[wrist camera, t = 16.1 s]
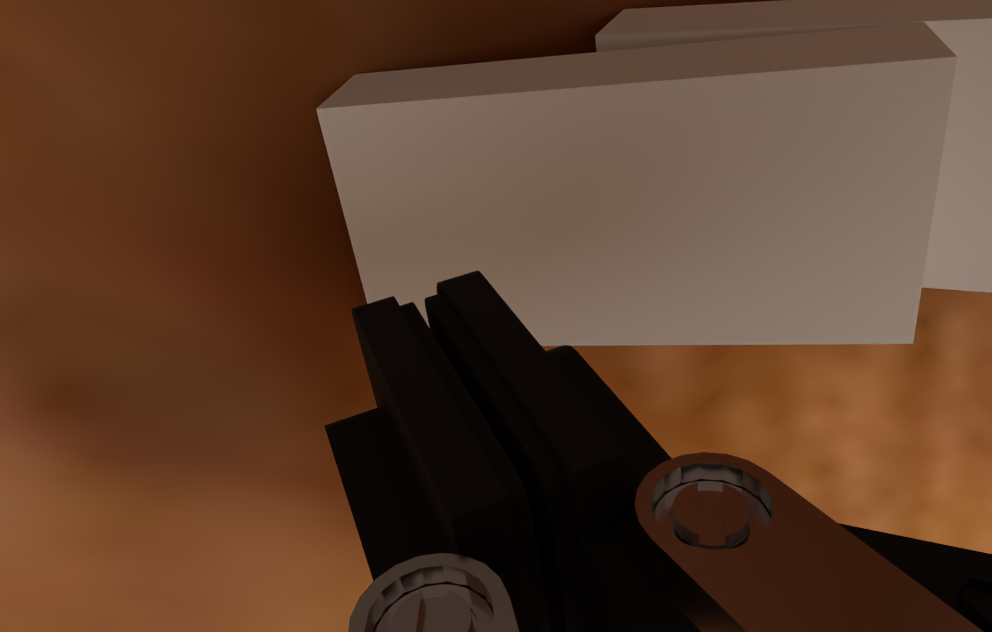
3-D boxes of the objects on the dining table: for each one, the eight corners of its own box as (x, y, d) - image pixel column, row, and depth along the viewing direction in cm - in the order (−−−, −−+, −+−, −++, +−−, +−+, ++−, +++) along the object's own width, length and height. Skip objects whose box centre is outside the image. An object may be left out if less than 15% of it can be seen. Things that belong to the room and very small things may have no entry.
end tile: (354, 74, 16) (924, 21, 13) (406, 295, 18) (890, 285, 16) (315, 109, 14) (957, 56, 12) (378, 347, 17) (913, 343, 14)
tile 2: (623, 9, 17) (1232, -25, 13) (636, 224, 20) (1146, 251, 16) (595, 35, 16) (1272, 6, 12) (612, 264, 18) (1169, 305, 14)
